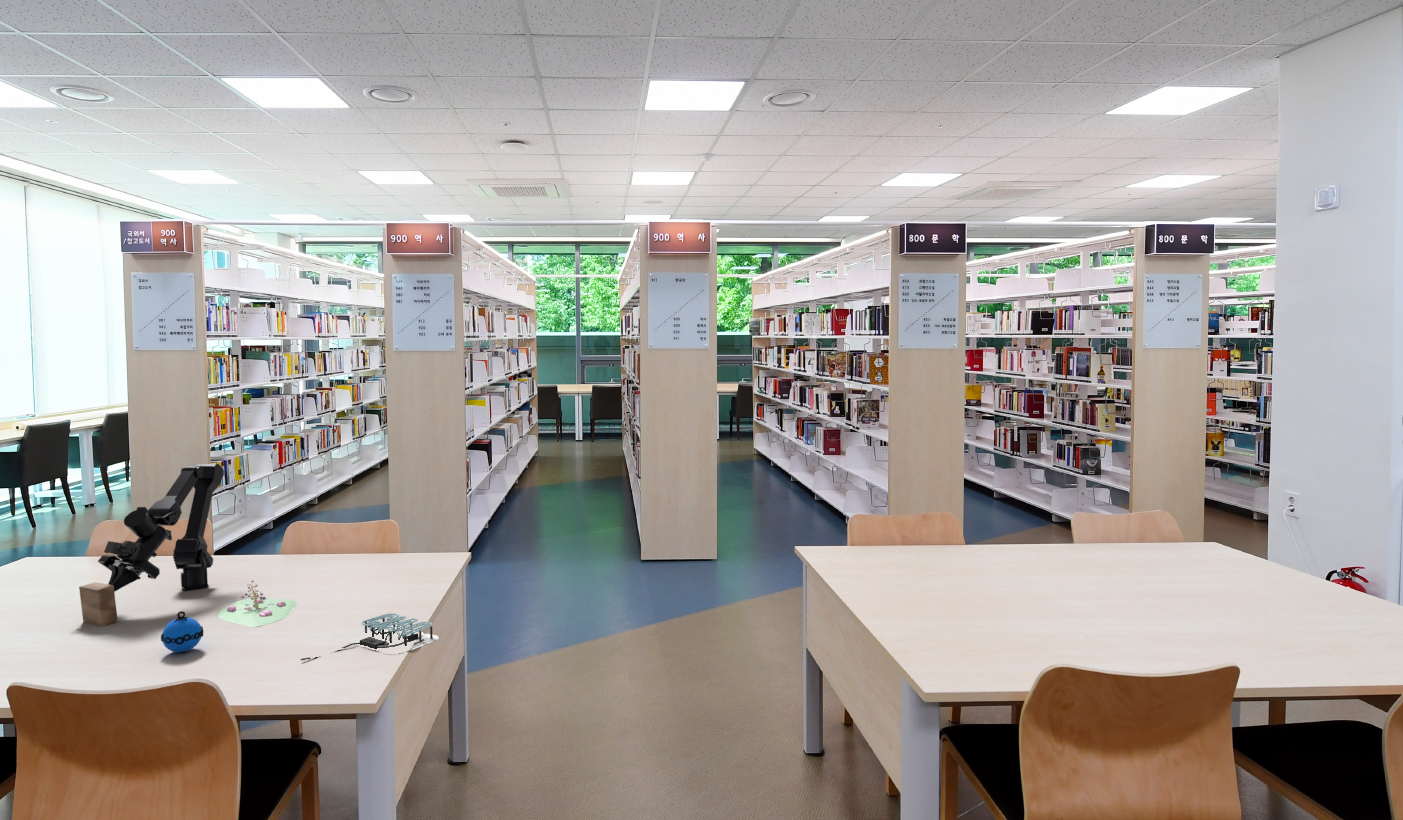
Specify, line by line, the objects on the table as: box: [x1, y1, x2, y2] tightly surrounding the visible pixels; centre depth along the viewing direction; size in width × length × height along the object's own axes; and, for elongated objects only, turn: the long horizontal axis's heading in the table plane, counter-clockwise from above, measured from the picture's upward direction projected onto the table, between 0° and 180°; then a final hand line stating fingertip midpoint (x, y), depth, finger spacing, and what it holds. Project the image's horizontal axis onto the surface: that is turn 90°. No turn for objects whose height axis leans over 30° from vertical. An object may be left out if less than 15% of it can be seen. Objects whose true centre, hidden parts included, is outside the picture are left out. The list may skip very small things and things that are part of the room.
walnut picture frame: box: [78, 581, 118, 627], centre depth 219 cm, size 4×8×10 cm, turn 67°
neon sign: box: [300, 612, 440, 661], centre depth 201 cm, size 21×4×29 cm
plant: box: [216, 580, 297, 628], centre depth 228 cm, size 25×21×9 cm
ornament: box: [160, 610, 204, 654], centre depth 198 cm, size 9×9×10 cm
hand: (107, 593), depth 221 cm, fingers closed, pressing on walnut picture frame
